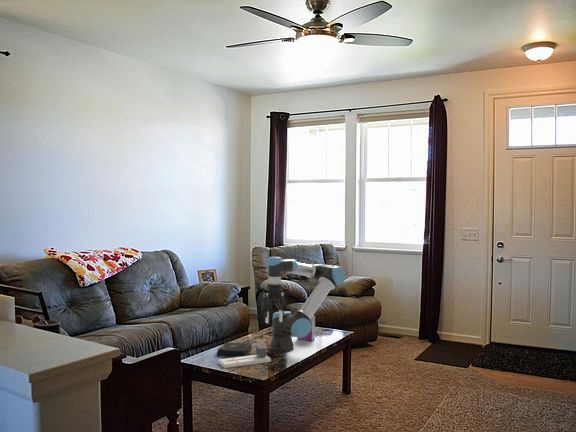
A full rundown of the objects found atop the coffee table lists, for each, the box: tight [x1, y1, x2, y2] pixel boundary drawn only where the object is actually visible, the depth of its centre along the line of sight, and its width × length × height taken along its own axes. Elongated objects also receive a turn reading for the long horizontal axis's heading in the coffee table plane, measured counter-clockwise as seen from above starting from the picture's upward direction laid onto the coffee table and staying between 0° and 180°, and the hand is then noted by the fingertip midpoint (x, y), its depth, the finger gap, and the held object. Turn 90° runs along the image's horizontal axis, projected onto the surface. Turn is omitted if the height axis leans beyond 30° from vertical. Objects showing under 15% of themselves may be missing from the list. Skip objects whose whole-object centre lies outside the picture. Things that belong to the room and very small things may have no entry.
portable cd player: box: [216, 342, 252, 358], centre depth 311 cm, size 16×17×4 cm
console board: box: [218, 354, 272, 369], centre depth 291 cm, size 28×10×2 cm, turn 118°
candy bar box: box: [296, 315, 316, 342], centre depth 344 cm, size 11×5×16 cm, turn 63°
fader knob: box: [255, 345, 267, 357], centre depth 296 cm, size 4×5×5 cm
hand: (273, 322), depth 300 cm, fingers open, 8 cm apart
